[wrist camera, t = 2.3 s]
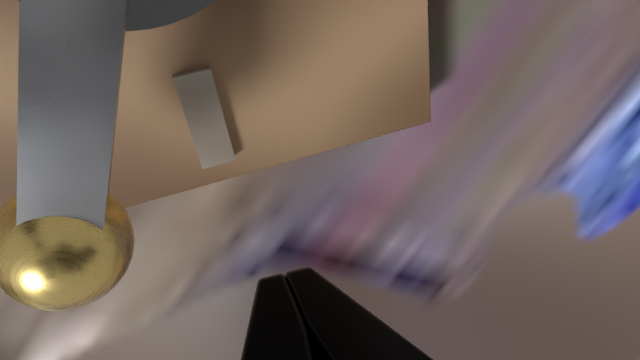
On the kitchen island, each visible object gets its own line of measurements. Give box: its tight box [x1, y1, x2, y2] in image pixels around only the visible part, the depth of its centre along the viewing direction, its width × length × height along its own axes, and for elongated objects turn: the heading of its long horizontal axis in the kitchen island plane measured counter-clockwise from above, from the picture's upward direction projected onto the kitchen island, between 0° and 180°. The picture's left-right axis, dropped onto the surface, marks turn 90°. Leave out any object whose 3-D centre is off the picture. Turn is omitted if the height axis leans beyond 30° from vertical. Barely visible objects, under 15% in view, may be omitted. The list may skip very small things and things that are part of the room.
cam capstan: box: [0, 0, 215, 311], centre depth 9 cm, size 11×6×5 cm, turn 164°
